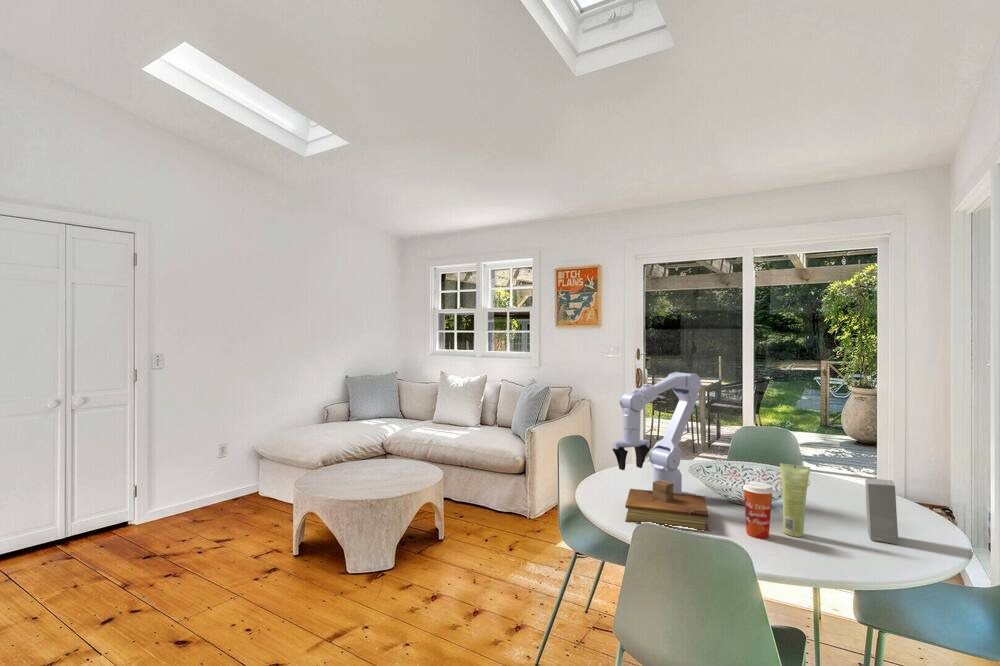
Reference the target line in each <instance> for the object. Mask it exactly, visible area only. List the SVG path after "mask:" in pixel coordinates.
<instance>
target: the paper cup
mask: <svg viewBox="0 0 1000 666" xmlns="http://www.w3.org/2000/svg"><path fill="white" fill-rule="evenodd" d="M742 489H743V496H744V499H743V500H744V510H745V511H744V512H745V513H744V514H745V515H744V516H745V530H746V531H745V532H746V534H748V535H747V536H749V537H751V538H754V537H755V538H754V539H759V538H760V539H762V540H763V539H765V540H766V539H768V538H769V536H770V528H771V527H770V525H771V515H772V513H771V511H772V498H773V493H775V491H774V489H773V487H772V486H771V485H770V484H768V483H765V482H759V481H746V482H745V483H744V486H743V487H742ZM760 539H759V540H760Z"/></svg>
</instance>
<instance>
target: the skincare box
mask: <svg viewBox="0 0 1000 666" xmlns="http://www.w3.org/2000/svg"><path fill="white" fill-rule="evenodd" d="M864 481H865V484H864V485H865V506H866V507H865V508H866V521H867V533H868V536H869V540H871V541H875V542H881V543H886V544H887V543H888V544H893V545H896V546H897V545H898V546H899V531H898V513H897V495H896V485H895V483H894V482H893V480H891V479H879V478H869V477H865V480H864Z"/></svg>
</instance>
